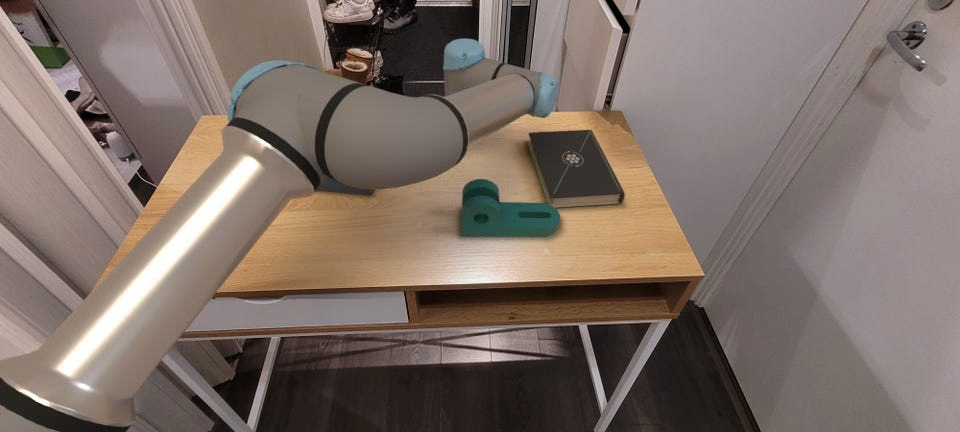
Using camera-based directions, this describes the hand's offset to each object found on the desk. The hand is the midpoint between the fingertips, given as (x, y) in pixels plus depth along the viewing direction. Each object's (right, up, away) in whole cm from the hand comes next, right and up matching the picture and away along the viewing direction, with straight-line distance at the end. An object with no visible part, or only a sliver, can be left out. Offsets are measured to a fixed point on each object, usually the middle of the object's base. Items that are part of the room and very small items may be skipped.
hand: (294, 137), depth 88 cm
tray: (+6, -6, +7) cm, 11 cm away
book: (+55, -6, +10) cm, 56 cm away
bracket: (+41, -17, -2) cm, 44 cm away
